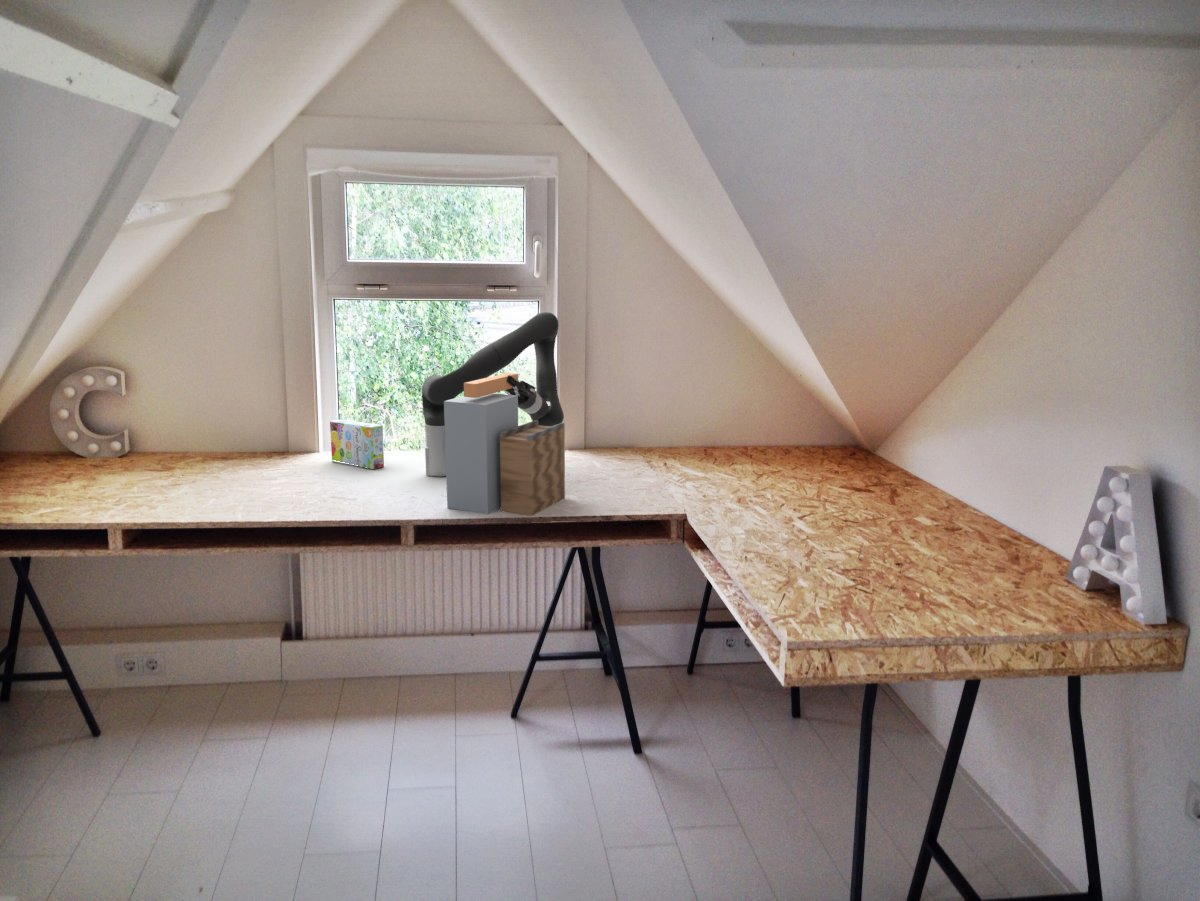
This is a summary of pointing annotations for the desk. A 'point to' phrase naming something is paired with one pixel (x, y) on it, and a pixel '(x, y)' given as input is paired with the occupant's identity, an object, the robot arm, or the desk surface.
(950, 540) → the desk surface
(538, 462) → the wood grain block
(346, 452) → the snack box
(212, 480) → the desk surface
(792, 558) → the desk surface
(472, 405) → the grey tall rectangular block
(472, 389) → the rail
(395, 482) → the desk surface
